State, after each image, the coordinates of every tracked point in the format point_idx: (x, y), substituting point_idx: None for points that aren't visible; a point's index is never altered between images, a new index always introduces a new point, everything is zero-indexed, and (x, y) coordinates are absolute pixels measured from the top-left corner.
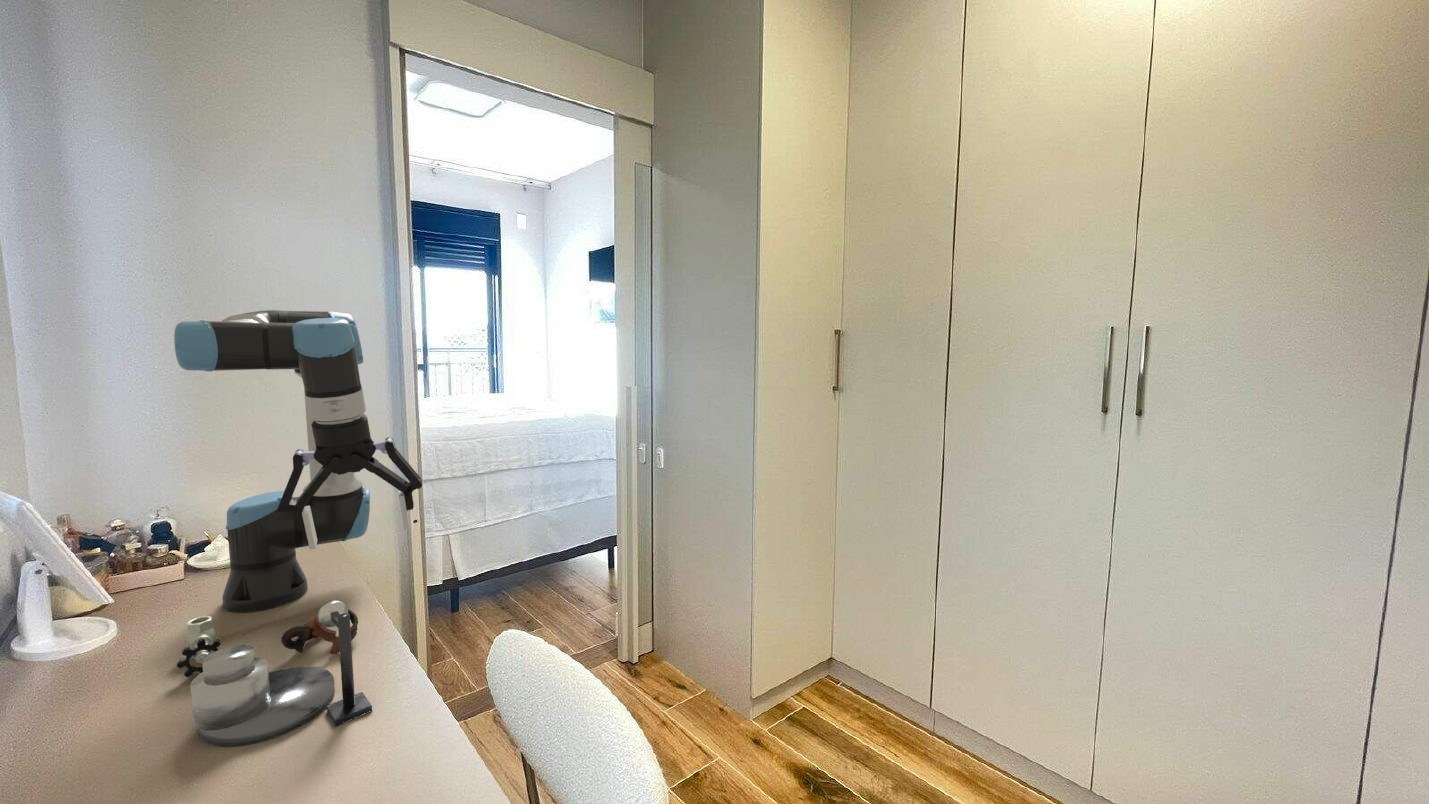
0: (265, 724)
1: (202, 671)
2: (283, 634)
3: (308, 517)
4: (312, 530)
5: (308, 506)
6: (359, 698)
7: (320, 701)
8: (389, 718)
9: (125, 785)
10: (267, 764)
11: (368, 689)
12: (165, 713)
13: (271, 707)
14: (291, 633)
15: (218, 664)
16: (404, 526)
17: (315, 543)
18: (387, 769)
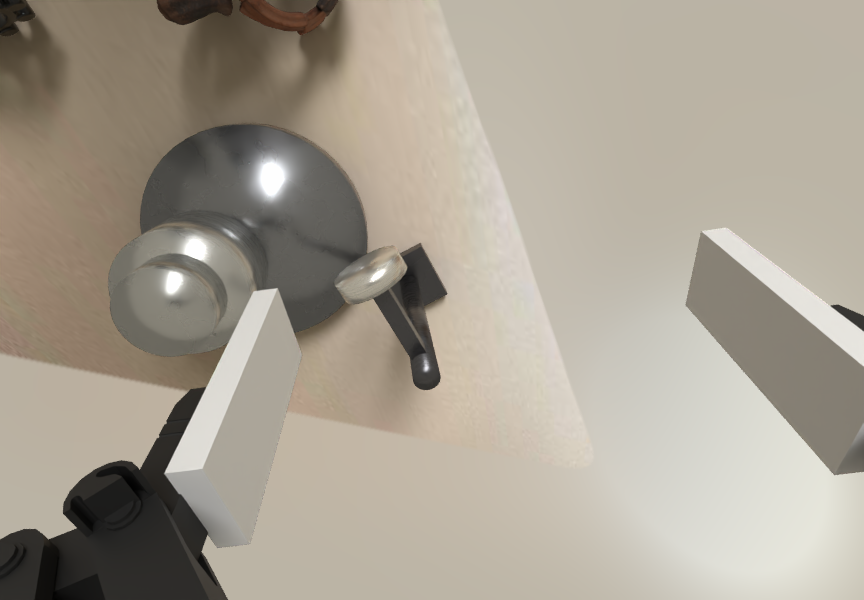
0: (292, 323)
1: (1, 32)
2: (159, 3)
3: (258, 507)
4: (275, 403)
5: (199, 478)
6: (421, 266)
7: None
8: (476, 315)
9: (145, 370)
10: (328, 374)
11: (425, 217)
12: (49, 186)
13: (278, 276)
14: (185, 16)
15: (167, 349)
16: (700, 319)
17: (292, 345)
18: (489, 418)
